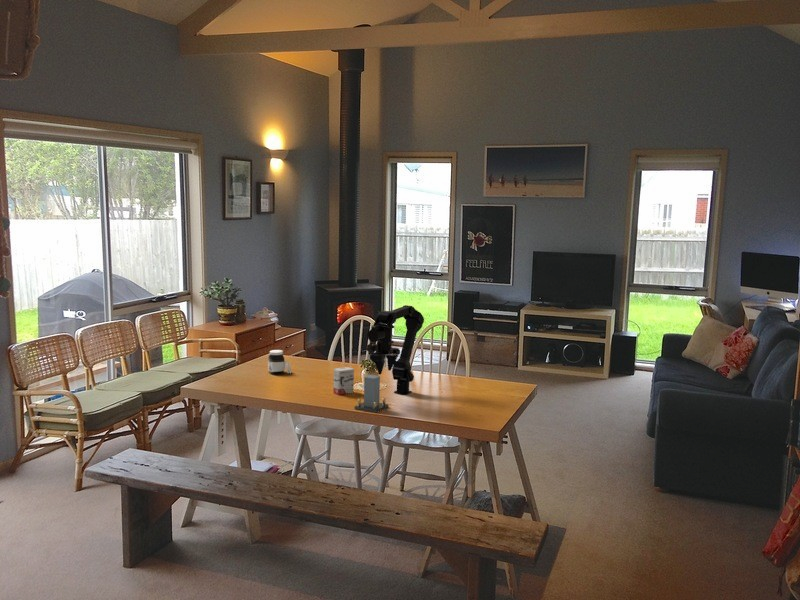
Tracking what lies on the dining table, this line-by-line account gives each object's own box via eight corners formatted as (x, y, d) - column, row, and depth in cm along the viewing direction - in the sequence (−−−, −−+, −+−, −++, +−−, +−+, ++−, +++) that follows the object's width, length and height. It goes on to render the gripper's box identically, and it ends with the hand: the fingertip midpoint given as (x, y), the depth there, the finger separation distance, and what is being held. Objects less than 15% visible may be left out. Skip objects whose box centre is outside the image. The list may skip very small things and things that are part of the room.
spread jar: (266, 371, 369) (266, 349, 368) (286, 369, 375) (286, 348, 373) (273, 376, 359) (273, 354, 357) (294, 374, 364) (294, 352, 362)
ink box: (338, 395, 327) (338, 370, 325) (333, 392, 331) (333, 368, 329) (354, 392, 332) (354, 368, 330) (348, 390, 336) (349, 366, 334)
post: (369, 403, 311) (370, 374, 309) (379, 404, 309) (379, 376, 307) (363, 405, 307) (364, 377, 305) (373, 407, 304) (374, 378, 302)
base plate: (367, 403, 315) (367, 394, 315) (388, 406, 310) (388, 397, 309) (354, 409, 305) (354, 399, 305) (376, 413, 300) (376, 403, 300)
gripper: (380, 333, 329) (379, 366, 331) (359, 340, 313) (359, 374, 315) (400, 336, 324) (400, 369, 326) (381, 342, 308) (380, 377, 310)
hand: (384, 372), depth 319 cm, fingers open, 9 cm apart
